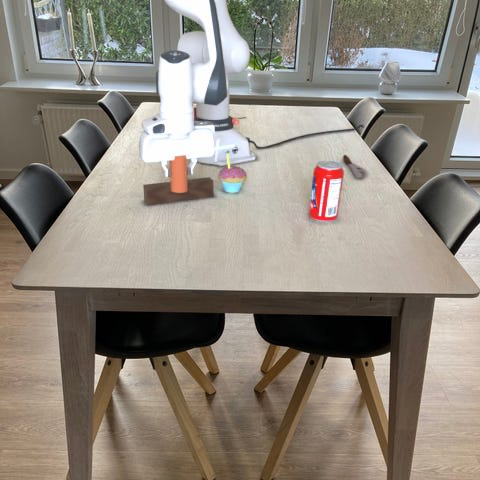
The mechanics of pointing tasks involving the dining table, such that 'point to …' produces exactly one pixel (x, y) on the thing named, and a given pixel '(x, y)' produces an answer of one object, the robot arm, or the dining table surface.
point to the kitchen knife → (354, 168)
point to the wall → (163, 194)
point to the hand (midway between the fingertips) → (178, 175)
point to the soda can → (326, 191)
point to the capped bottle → (179, 174)
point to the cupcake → (232, 177)
